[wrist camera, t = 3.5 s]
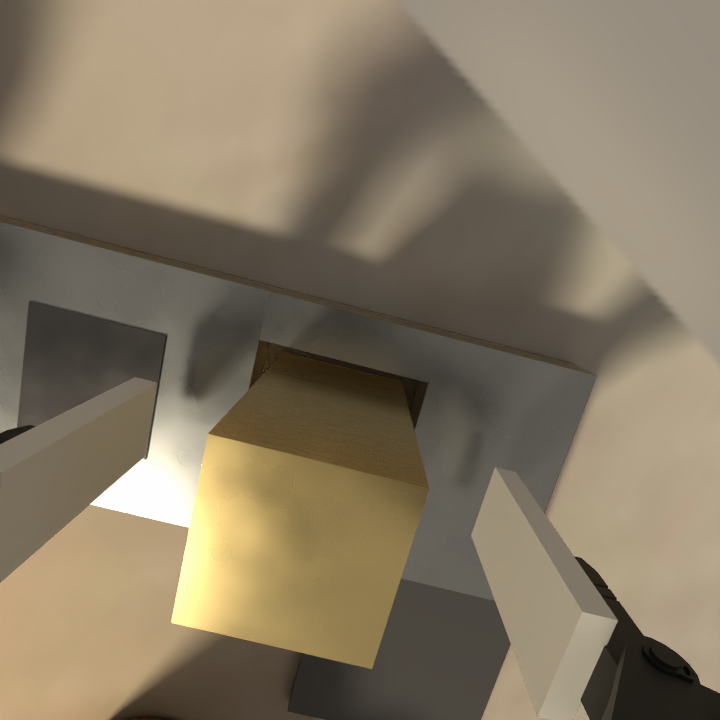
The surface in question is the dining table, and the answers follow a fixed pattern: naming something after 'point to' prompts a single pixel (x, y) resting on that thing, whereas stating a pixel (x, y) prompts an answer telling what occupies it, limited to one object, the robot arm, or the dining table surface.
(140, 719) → the mug
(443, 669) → the rubber mat
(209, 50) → the dining table surface
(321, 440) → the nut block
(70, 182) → the dining table surface
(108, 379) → the grey board with slots
